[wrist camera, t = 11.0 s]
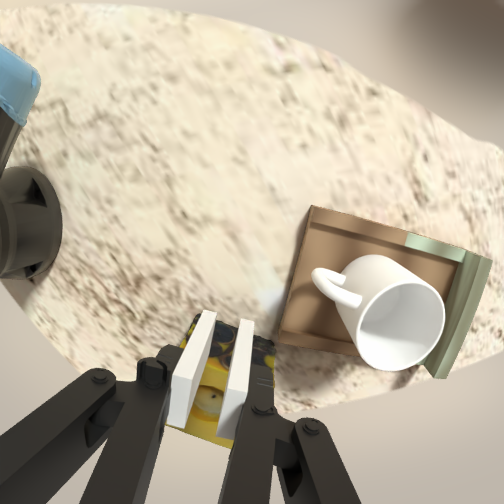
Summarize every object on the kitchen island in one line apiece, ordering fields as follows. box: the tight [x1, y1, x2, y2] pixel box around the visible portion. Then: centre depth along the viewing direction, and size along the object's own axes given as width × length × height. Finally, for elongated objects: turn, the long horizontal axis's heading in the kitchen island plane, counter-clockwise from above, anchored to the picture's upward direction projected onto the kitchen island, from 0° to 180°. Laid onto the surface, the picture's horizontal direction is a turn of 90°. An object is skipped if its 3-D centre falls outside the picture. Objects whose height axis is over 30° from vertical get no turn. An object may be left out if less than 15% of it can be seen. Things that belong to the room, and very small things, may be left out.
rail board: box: [278, 205, 493, 379], centre depth 33 cm, size 21×15×6 cm
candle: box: [165, 314, 276, 449], centre depth 34 cm, size 10×10×10 cm
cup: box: [311, 255, 445, 371], centre depth 29 cm, size 8×12×10 cm
